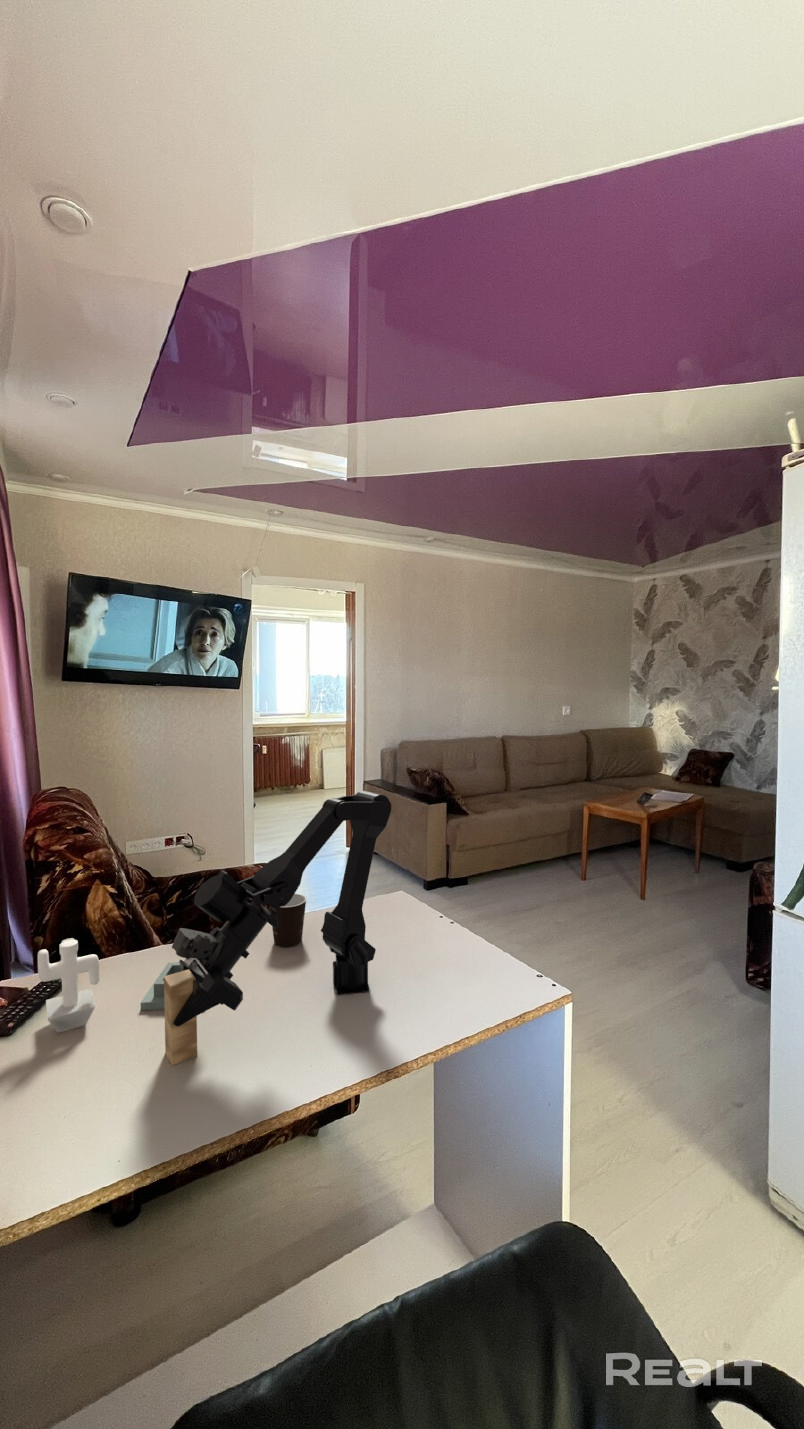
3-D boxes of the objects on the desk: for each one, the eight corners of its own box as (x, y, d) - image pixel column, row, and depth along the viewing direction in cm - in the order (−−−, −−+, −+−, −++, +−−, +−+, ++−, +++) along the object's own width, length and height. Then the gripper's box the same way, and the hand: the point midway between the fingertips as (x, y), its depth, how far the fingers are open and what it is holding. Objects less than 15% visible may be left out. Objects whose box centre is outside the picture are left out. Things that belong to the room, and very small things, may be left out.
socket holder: (221, 975, 120) (221, 956, 120) (206, 1007, 108) (206, 987, 108) (162, 977, 119) (162, 958, 119) (140, 1010, 107) (140, 989, 107)
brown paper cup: (298, 951, 131) (298, 908, 130) (263, 947, 132) (262, 905, 132) (316, 929, 142) (315, 890, 142) (283, 926, 144) (283, 887, 143)
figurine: (102, 1024, 103) (100, 942, 102) (40, 1042, 97) (37, 956, 97) (98, 1005, 109) (96, 928, 108) (39, 1021, 103) (36, 940, 103)
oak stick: (190, 1043, 97) (188, 969, 97) (197, 1056, 94) (196, 979, 93) (165, 1052, 95) (163, 976, 94) (172, 1065, 92) (170, 986, 91)
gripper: (186, 893, 103) (121, 971, 97) (222, 930, 88) (147, 1024, 82) (230, 925, 108) (170, 1001, 102) (270, 965, 93) (203, 1056, 87)
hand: (171, 1018), depth 93 cm, fingers closed on oak stick, 4 cm apart
